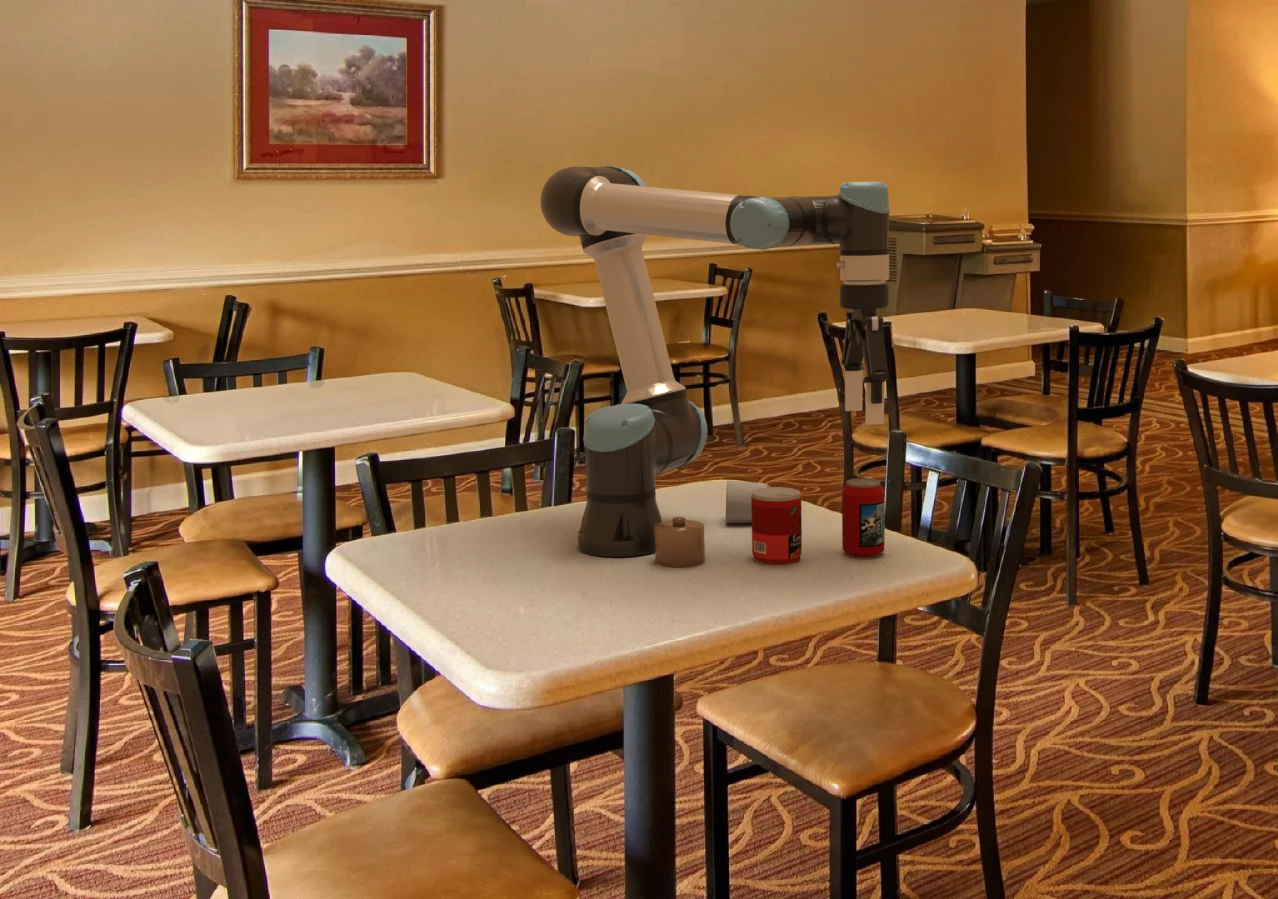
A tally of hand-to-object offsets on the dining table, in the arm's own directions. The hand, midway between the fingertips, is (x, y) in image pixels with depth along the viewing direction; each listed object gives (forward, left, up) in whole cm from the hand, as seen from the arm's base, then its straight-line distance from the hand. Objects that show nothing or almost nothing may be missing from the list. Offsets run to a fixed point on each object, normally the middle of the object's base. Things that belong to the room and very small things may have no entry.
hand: (863, 417), depth 209 cm
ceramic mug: (-29, +8, -23) cm, 38 cm away
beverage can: (0, 0, -23) cm, 23 cm away
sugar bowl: (-22, -20, -22) cm, 37 cm away
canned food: (-10, -10, -23) cm, 27 cm away
